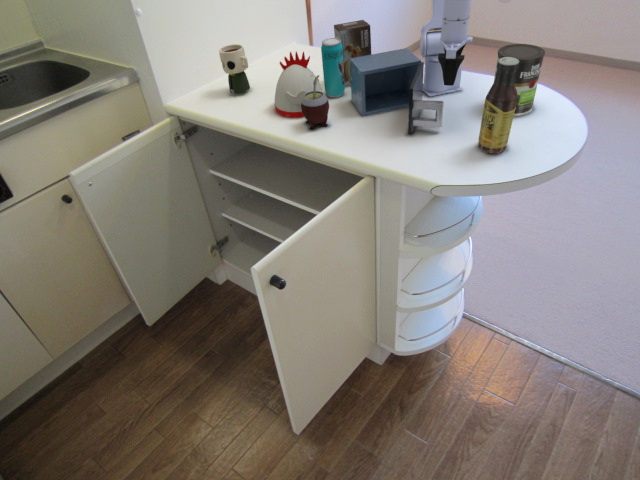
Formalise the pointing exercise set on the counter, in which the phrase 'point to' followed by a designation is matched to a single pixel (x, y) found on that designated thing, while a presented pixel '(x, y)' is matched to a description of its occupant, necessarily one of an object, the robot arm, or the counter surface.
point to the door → (422, 104)
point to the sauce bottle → (499, 108)
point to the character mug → (235, 67)
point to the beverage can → (333, 67)
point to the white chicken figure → (294, 86)
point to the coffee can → (524, 73)
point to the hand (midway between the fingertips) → (450, 78)
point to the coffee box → (353, 43)
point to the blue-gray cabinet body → (382, 80)
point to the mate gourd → (315, 107)
